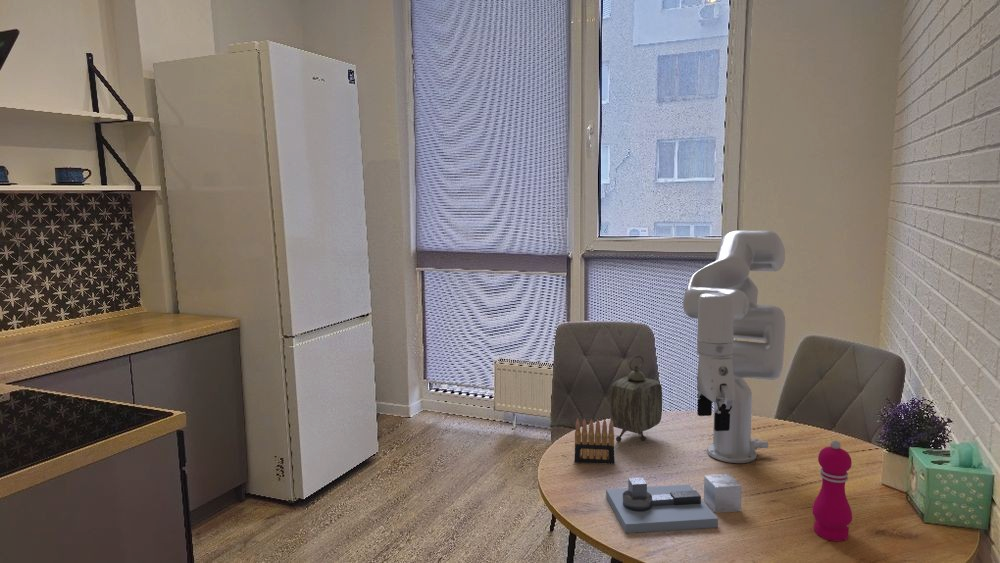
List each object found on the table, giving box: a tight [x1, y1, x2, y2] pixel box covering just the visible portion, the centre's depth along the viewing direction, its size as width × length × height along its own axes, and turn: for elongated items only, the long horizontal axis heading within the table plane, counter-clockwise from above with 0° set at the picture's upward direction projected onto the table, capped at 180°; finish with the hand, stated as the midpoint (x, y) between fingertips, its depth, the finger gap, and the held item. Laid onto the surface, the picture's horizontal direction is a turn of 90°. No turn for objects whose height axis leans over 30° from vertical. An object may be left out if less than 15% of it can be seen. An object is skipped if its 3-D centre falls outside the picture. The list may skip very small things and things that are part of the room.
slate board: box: [605, 484, 719, 534], centre depth 137 cm, size 20×16×2 cm
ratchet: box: [623, 477, 702, 512], centre depth 137 cm, size 17×6×6 cm, turn 95°
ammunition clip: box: [573, 417, 616, 465], centre depth 164 cm, size 11×2×12 cm, turn 81°
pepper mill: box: [811, 439, 853, 542], centre depth 126 cm, size 7×7×20 cm
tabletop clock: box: [609, 354, 663, 443], centre depth 178 cm, size 14×9×25 cm, turn 135°
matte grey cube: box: [703, 473, 743, 514], centre depth 139 cm, size 6×6×6 cm
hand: (712, 422), depth 138 cm, fingers open, 9 cm apart
